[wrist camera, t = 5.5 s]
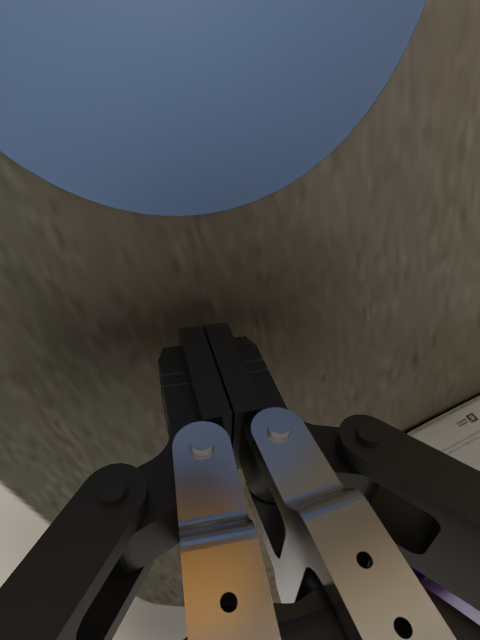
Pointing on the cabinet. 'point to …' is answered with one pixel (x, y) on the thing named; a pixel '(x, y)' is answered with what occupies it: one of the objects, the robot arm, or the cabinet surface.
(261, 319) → the cabinet surface
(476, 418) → the skincare box
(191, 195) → the disc
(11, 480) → the cabinet surface
